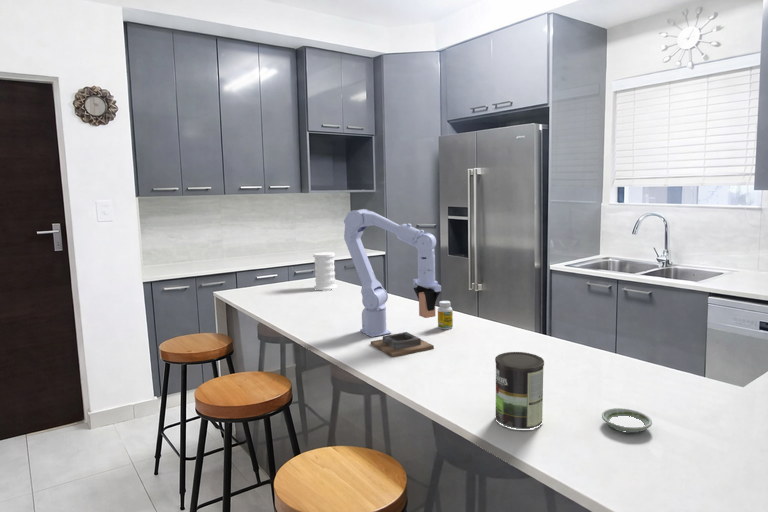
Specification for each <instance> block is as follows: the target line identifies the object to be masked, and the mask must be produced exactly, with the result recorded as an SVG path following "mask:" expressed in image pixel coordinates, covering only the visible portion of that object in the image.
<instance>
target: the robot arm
mask: <svg viewBox="0 0 768 512" xmlns="http://www.w3.org/2000/svg"><path fill="white" fill-rule="evenodd" d="M343 224H344V230H343V231H344V232H343V238H344V242H345V244H346V247H347V250H348V252H349V254H350V258H351V260H352V263H353V265H354V268H355V271H356V272H357V274H358V279H359V280H360V283H361V291H360V293H361V296H362V298H361V299H362V302H361V303H362V306H363V307H364V308H363V309H362V311H361V328H360V329H359V331H360V332H362V333H363V334H365V335H367V336H368V337H370V338H373V337H378V336H379V337H380V336H383V335H384V336H386V335H392V331H389V330H388V329H387V309H386V308H387V306H386V302H387V301H388V298H389V296H388V292H387V290H386V289H385V288H384V287H383V285H382V283H381V282H380V281H379V280H378V279H377V277H376V275H375V273H374V270H373V267H372V265H371V262H370V259H369V257H368V254H367V252H366V249H365V247H364V244H363V242H362V239H361V237H362V236H363V234H364V232H365V230H366V229H367V228H368V227H370V226H371V227H372V226H375V227H378V228H380V229H383V230H385V231H388V232H391V233H393V234H395V236H396V238H397V239H398V240H399V241H402V242H404V243H406V244H408V245H410V246H412V247H415V248H416V250H417V278H413V279H412V285H413V286H416V287H413V291H414V293H415V294H416V297H417V299H418V301H419V293H420V292H424V294H425V297H426V302H427V309H428V311H432V310H434V307H435V308H436V302H437V300H438V297H439V295H440V294H441V292H442V285H440V284H439V282H438V281H437V280H436V255H435V254H436V253H435V247H436V246H437V238H436V236H435V235H434V234H432V233H431V232H425V230H424V229H418V228H415V227H414V226H412V225H413V224H411V223H410V222H409V223H407V224H406V223H403V224H398V223H396V222H394V221H393V220H391V219H389V218H386V217H384V216H382V215H381V214H379V213H376V212H375V211H373V210H369V209H366V208H362V209H357V210H355V209H354V210H350V211H349V212H348V213H347V214H346V216H345V217H344V220H343Z"/></svg>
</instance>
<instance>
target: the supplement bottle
mask: <svg viewBox="0 0 768 512" xmlns="http://www.w3.org/2000/svg"><path fill="white" fill-rule="evenodd" d="M453 318H454V317H453V308H452V306H451V301H450V300H440V301H439V307H438V308H437V327H438V329H440V330H451V329H453V328H454V325H453V324H454V323H453V321H454V319H453Z"/></svg>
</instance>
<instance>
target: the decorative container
mask: <svg viewBox="0 0 768 512" xmlns="http://www.w3.org/2000/svg"><path fill="white" fill-rule="evenodd" d="M312 257H314V261H313V263H314V270H315V273H314V276H315V280H314V281H315V285H314V286H313V290H314V289H316V290H315V291H317V290H330V291H332V290H331V289H335V288H337V289H338V284H336V277H335V275H336V271H335V268H336V267H335V258H334V257H336V253H335V252H332V251H326V252H325V251H322V252H314V253H313V255H312ZM335 290H336V289H335Z"/></svg>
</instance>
